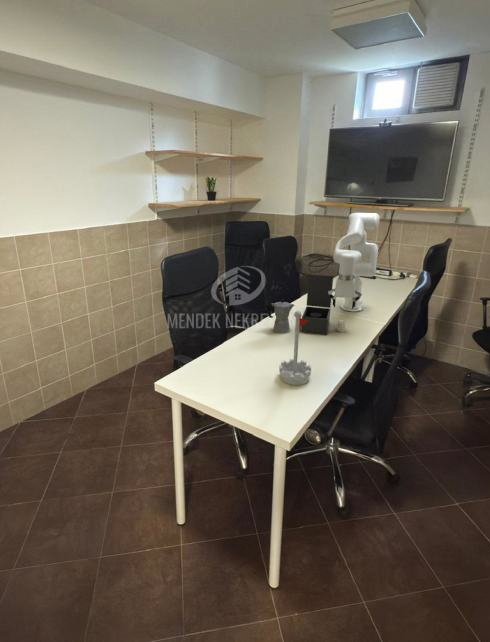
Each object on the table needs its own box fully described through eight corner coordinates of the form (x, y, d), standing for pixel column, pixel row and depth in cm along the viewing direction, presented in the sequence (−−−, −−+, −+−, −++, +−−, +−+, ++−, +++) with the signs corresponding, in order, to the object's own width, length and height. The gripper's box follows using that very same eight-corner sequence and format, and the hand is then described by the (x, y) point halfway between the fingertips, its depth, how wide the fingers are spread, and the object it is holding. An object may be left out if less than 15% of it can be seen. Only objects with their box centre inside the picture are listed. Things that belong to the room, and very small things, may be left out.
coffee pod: (339, 327, 199) (340, 319, 198) (346, 330, 196) (347, 321, 195) (335, 330, 197) (336, 321, 195) (342, 332, 194) (343, 323, 192)
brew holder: (313, 326, 202) (314, 311, 199) (322, 329, 197) (323, 314, 195) (307, 329, 198) (308, 314, 195) (316, 332, 194) (317, 317, 191)
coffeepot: (291, 326, 202) (293, 296, 197) (295, 333, 193) (296, 301, 188) (264, 327, 202) (265, 296, 196) (266, 333, 193) (267, 302, 187)
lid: (333, 275, 201) (333, 275, 205) (308, 274, 205) (309, 273, 209) (330, 307, 203) (331, 306, 208) (306, 305, 208) (307, 304, 212)
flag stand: (289, 389, 141) (292, 319, 132) (273, 373, 153) (275, 308, 143) (316, 382, 146) (321, 313, 137) (299, 367, 158) (302, 303, 148)
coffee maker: (326, 334, 191) (327, 319, 188) (301, 331, 195) (302, 316, 192) (329, 322, 207) (330, 308, 204) (305, 320, 211) (306, 306, 208)
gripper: (363, 276, 188) (360, 306, 194) (329, 273, 193) (327, 303, 199) (363, 280, 181) (360, 311, 187) (328, 277, 187) (326, 308, 192)
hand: (343, 307), depth 193 cm, fingers open, 9 cm apart
